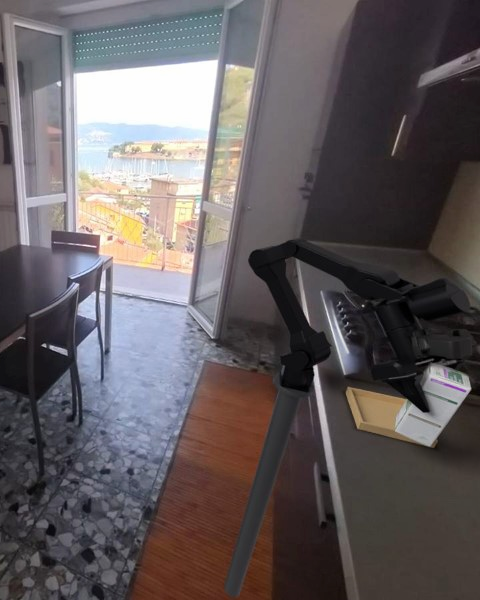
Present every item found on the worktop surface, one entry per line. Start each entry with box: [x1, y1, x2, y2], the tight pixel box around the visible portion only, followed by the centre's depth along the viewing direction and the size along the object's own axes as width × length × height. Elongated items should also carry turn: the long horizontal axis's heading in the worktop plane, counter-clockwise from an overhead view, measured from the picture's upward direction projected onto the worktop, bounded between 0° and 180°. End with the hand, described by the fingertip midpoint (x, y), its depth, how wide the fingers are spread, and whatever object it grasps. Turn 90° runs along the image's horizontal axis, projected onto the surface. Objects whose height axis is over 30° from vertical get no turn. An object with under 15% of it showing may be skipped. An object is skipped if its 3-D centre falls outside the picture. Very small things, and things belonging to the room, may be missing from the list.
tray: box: [345, 386, 439, 449], centre depth 81 cm, size 13×13×2 cm
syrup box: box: [395, 362, 472, 448], centre depth 68 cm, size 6×6×14 cm
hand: (441, 407), depth 66 cm, fingers closed on syrup box, 7 cm apart
